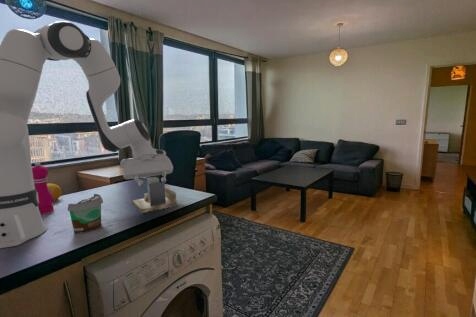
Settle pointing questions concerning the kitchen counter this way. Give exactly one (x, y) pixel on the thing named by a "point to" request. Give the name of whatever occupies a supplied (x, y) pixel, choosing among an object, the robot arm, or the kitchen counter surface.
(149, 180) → the pale green block
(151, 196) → the gray rectangular slab
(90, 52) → the robot arm
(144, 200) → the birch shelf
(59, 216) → the kitchen counter surface
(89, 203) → the food container
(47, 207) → the pepper mill
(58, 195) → the fruit
